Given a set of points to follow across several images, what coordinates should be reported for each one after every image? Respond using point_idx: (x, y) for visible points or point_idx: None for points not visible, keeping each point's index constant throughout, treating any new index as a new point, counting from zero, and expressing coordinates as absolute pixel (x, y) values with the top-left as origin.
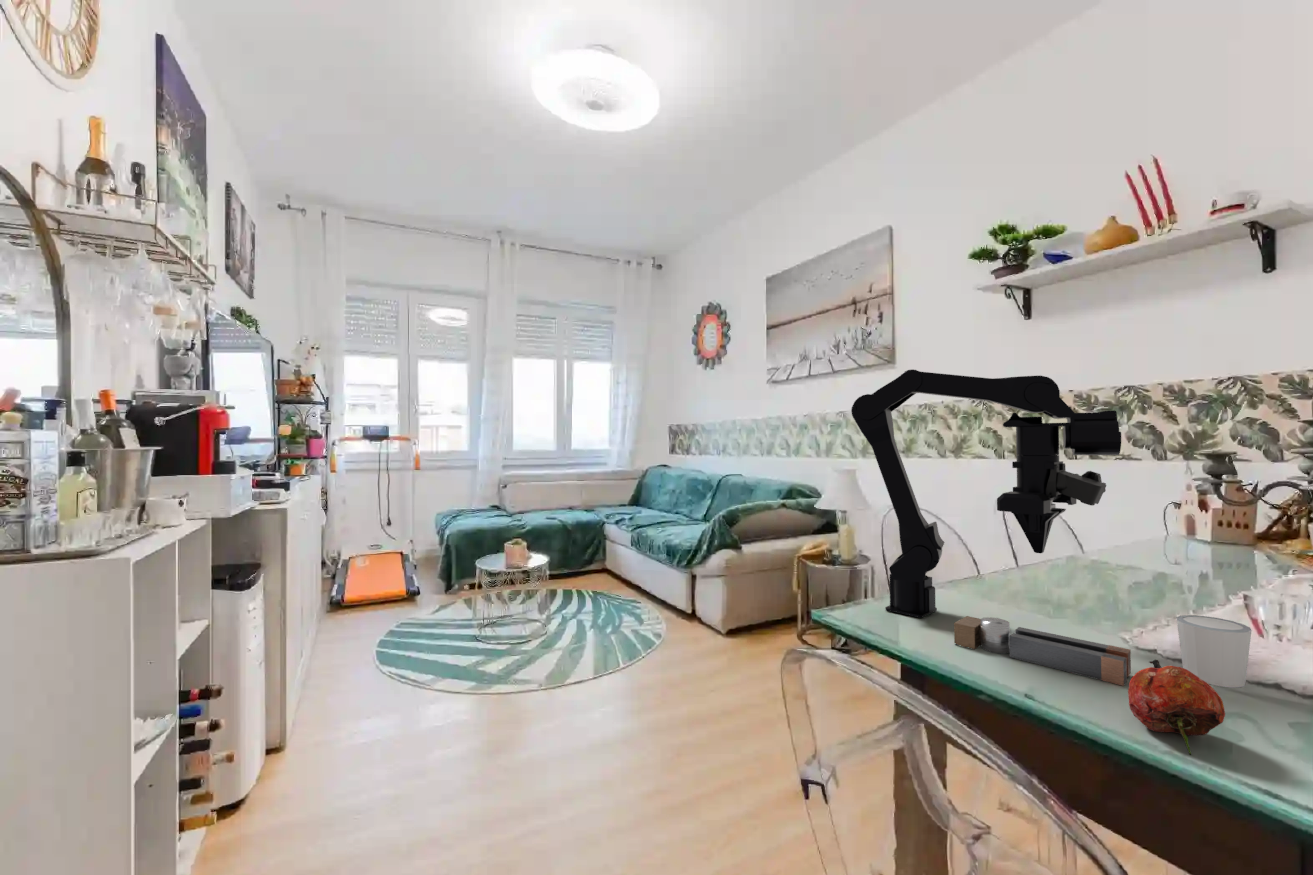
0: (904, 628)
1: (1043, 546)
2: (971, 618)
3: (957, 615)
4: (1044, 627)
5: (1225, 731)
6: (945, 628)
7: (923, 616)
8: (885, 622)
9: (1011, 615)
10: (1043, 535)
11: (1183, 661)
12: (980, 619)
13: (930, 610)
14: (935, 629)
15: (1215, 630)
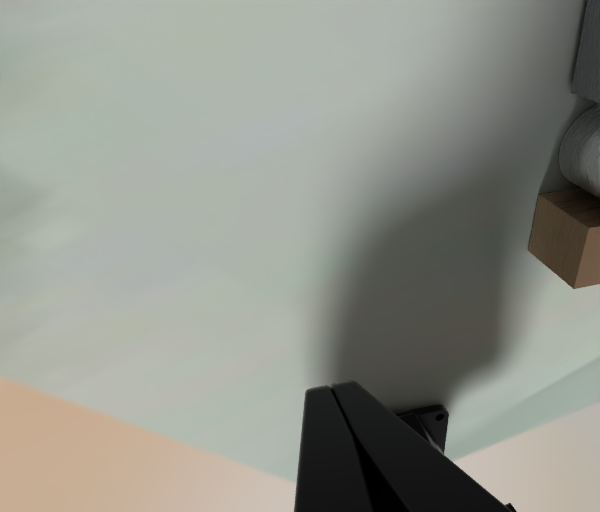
0: (553, 372)
1: (374, 417)
2: (595, 266)
3: (320, 379)
4: (213, 151)
5: None
6: (484, 324)
7: (431, 407)
8: (531, 419)
9: (155, 297)
10: (503, 504)
11: None
12: (590, 244)
13: (409, 418)
14: (511, 331)
15: None
